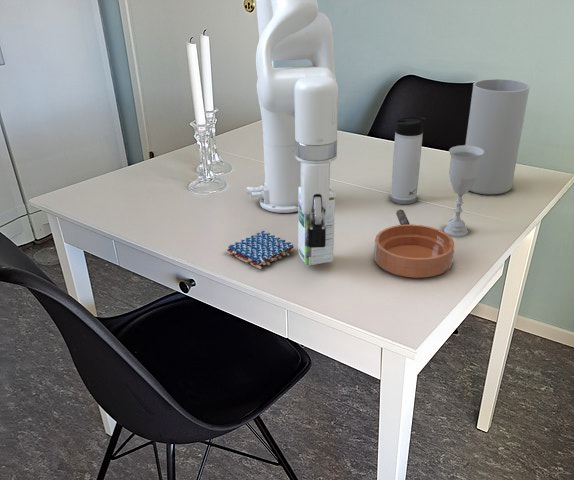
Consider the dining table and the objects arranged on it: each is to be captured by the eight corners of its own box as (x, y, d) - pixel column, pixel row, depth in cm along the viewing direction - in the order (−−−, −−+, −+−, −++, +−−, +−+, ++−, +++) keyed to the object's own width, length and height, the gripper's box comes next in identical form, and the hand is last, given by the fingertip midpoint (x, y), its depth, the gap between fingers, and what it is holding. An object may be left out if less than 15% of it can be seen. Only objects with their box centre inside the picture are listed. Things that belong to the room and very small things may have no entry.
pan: (380, 281, 115) (381, 260, 112) (369, 244, 128) (370, 225, 125) (460, 279, 115) (463, 258, 113) (441, 242, 128) (443, 223, 126)
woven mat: (224, 254, 126) (223, 245, 125) (262, 237, 132) (262, 228, 131) (258, 271, 119) (257, 262, 118) (296, 252, 125) (296, 243, 124)
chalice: (449, 221, 137) (459, 143, 127) (477, 229, 133) (489, 149, 124) (433, 232, 132) (442, 152, 123) (462, 241, 128) (474, 159, 119)
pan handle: (411, 232, 126) (411, 225, 125) (402, 233, 126) (403, 225, 125) (403, 215, 134) (404, 207, 133) (395, 215, 134) (395, 208, 133)
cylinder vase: (489, 199, 146) (507, 94, 134) (449, 185, 155) (462, 84, 142) (521, 187, 153) (541, 85, 140) (481, 173, 161) (496, 76, 148)
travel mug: (417, 205, 145) (425, 122, 134) (389, 203, 146) (395, 121, 135) (418, 195, 150) (425, 114, 140) (391, 194, 151) (396, 113, 141)
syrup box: (297, 253, 122) (296, 186, 115) (324, 248, 124) (325, 181, 116) (306, 266, 118) (305, 197, 110) (334, 261, 119) (336, 192, 112)
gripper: (294, 135, 117) (295, 219, 126) (296, 166, 102) (297, 259, 111) (333, 134, 117) (331, 218, 126) (341, 165, 102) (338, 258, 111)
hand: (315, 237), depth 118 cm, fingers closed on syrup box, 6 cm apart
